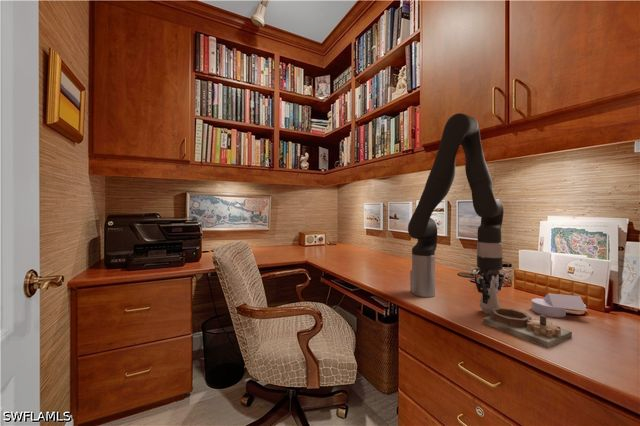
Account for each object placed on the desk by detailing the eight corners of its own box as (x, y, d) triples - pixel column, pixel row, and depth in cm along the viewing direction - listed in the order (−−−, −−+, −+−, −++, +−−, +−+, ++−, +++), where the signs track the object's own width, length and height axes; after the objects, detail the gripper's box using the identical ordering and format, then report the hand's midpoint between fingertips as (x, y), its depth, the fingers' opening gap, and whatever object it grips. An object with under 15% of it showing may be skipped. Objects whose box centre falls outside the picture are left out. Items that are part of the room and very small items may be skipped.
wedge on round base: (573, 311, 91) (528, 306, 97) (573, 292, 91) (528, 288, 97) (587, 321, 83) (536, 314, 88) (587, 300, 83) (536, 295, 88)
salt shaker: (496, 317, 86) (496, 278, 86) (477, 312, 91) (477, 275, 91) (501, 312, 90) (501, 275, 90) (483, 308, 95) (483, 273, 95)
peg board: (482, 323, 82) (482, 305, 82) (506, 315, 88) (506, 298, 88) (548, 347, 67) (548, 326, 67) (571, 336, 73) (571, 316, 73)
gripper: (490, 252, 97) (490, 297, 97) (466, 255, 91) (466, 304, 91) (512, 254, 90) (512, 304, 90) (488, 258, 84) (488, 311, 84)
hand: (489, 303), depth 90 cm, fingers closed on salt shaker, 3 cm apart
